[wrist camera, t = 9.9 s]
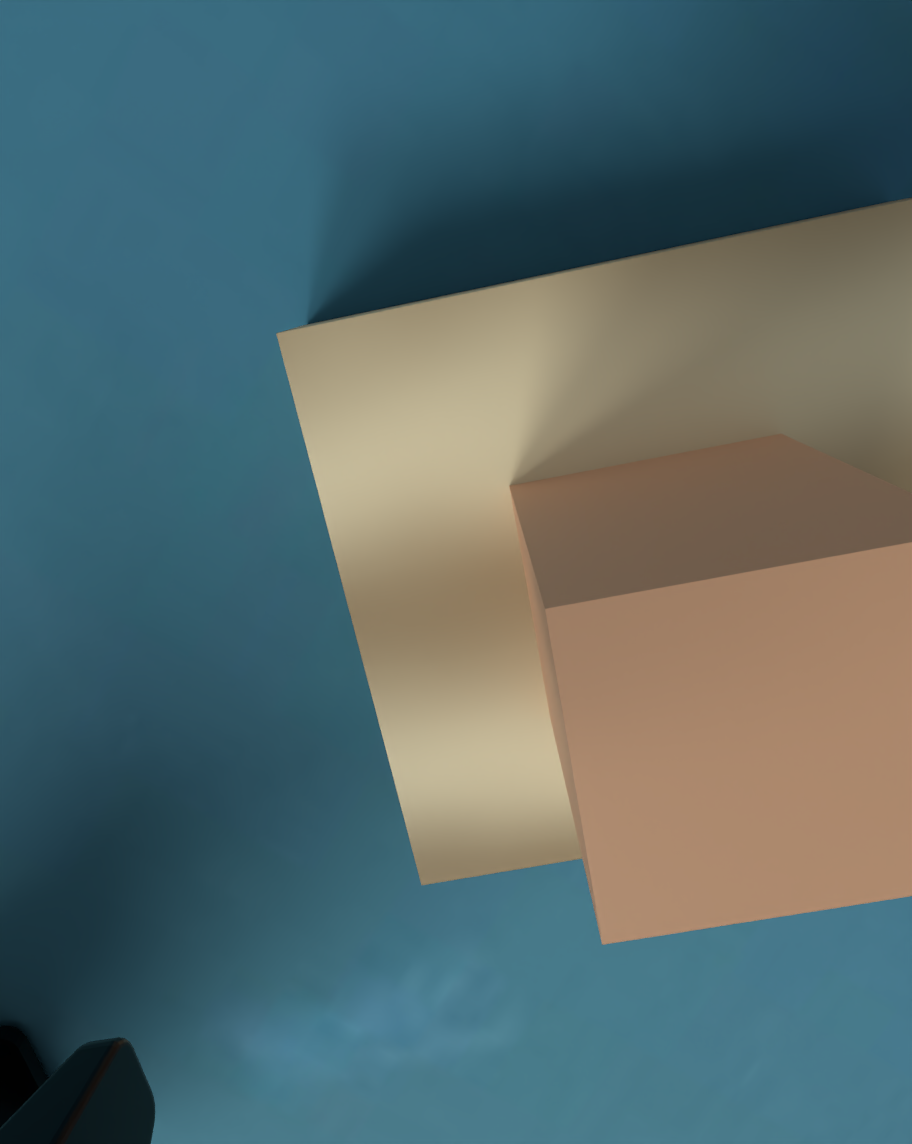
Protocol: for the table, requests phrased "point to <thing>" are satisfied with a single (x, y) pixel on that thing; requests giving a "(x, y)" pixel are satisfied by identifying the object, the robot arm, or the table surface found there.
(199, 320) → the table surface
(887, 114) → the table surface
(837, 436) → the birch base
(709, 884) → the terracotta block
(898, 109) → the table surface
